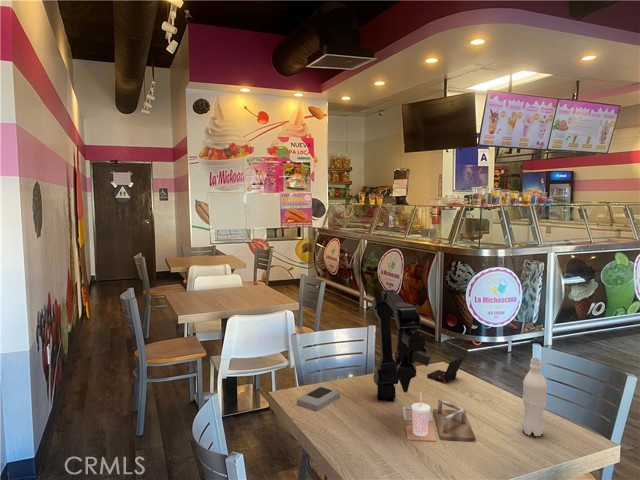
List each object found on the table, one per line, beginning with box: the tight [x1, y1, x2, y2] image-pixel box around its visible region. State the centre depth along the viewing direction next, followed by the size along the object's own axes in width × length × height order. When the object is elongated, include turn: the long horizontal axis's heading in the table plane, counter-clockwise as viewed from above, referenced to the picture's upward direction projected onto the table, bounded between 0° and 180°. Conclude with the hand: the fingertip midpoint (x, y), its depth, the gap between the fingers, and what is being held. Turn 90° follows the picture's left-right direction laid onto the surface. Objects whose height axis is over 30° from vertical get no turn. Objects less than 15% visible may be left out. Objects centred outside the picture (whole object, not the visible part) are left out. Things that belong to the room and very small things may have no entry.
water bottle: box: [521, 357, 548, 437], centre depth 157 cm, size 7×7×25 cm
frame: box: [401, 406, 434, 423], centre depth 171 cm, size 10×10×1 cm
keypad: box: [296, 385, 341, 412], centre depth 183 cm, size 10×4×15 cm
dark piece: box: [426, 357, 464, 384], centre depth 205 cm, size 9×12×10 cm
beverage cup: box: [411, 391, 431, 436], centre depth 157 cm, size 6×6×14 cm
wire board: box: [432, 398, 477, 443], centre depth 163 cm, size 11×20×6 cm, turn 173°
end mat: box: [405, 425, 437, 443], centre depth 158 cm, size 9×9×1 cm
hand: (404, 386), depth 164 cm, fingers open, 9 cm apart
